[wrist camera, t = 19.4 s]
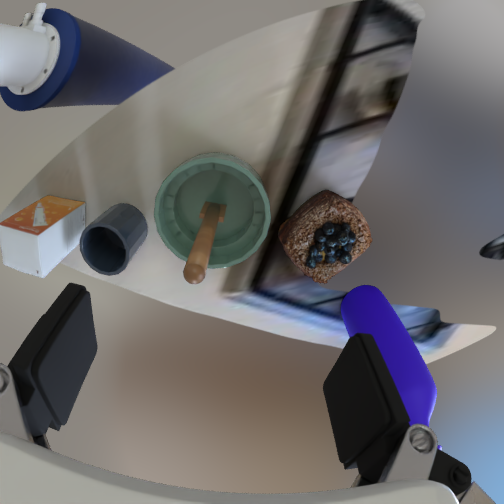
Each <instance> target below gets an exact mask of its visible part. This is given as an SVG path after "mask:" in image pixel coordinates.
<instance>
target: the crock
mask: <svg viewBox="0 0 504 504" xmlns="http://www.w3.org/2000/svg"><path fill="white" fill-rule="evenodd" d="M146 236H147V223H146V220H145V218H144V216H143V214H142V213H141V212H140V211H139V210H138V209H137V208H135V207H134V206H132V205H129V204H124V203H120V204H116V205H114V206H112V207H110V208H109V209H108V210H107V211H105V212H104V213H103V214H102V215H100V216H99V217H98V218H97V219H96V220H94V221H93V222H92V223H91V224H90V225H88V226H87V227H86V228H85V229H84V230H83V232H82V234H81V237H80V251H81V254H82V256H83V258H84V260H85V262H86V263H87V264H88V265H89V266H90V267H91V268H92V269H93V270H95V271H96V272H98V273H100V274H104V275H108V276H110V275H116V274H119V273H120V272H122V271H123V270H124V269H125V268H126V267H127V265H128V264H129V263H130V261H131V260H132V258H133V257H134V255H135V254H136V253H137V251H138V250H139V248H140V247H141V245H142V244H143V242H144V240H145V239H146Z"/></svg>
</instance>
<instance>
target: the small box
mask: <svg viewBox="0 0 504 504" xmlns="http://www.w3.org/2000/svg"><path fill="white" fill-rule="evenodd" d="M85 205H86V203H85V202H81V201H74V200H69V199H64V198H59V197H54V196H49V195H48V196H46V197H44V198H42V199H40V200H38V201H36V202H35V203H33V204H31V205H29V206H28V207H26V208H24V209H23V210H21V211H19V212H17V213H16V214H14V215H12V216H11V217H9V218H8V219H6V220H4V221H3V222H1V223H0V245H1V252H2V258H3V264H4V265H6V266H9V267H11V268H14V269H16V270H19V271H21V272H23V273H27V274H31V275H34V276H37V277H40V278H44V277H45V276H46V275H47V274H48V273H49V272H50V271H51V270H52V269H53V268H54V267H55V266H56V265H57V264H58V263H59V262H60V261H61V260H62V259H63V258H64V257H65V256H66V255H67V254H68V253H70V252H71V251H72V250H73V249H74V248H75V247H76V246H77V245H78V244H79V243H80V237H81V234H82V232H83V230H84V229H85Z"/></svg>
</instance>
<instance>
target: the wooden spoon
mask: <svg viewBox="0 0 504 504" xmlns="http://www.w3.org/2000/svg"><path fill="white" fill-rule="evenodd" d="M226 207H227V205H223V204H218V203H212V202H207V201H205V203H204V205H203V207H202V209H201V212H200V215H199V218H201V219H203V220H202V223H201V225H200V228H199V231H198V233H197V236H196V238H195V241H194V244H193V246H192V249H191V252H190V254H189V257H188V260H187V262H186V265H185V268H184V271H183V275H184V278H185V280H186V281H187V282H189V283H191V284H198V283H200V282H202V281H203V279H204V278H205V274H206V270H207V266H208V261H209V257H210V253H211V249H212V245H213V241H214V237H215V233H216V229H217V225H218V222H224V217H225V212H226Z"/></svg>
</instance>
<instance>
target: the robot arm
mask: <svg viewBox="0 0 504 504" xmlns="http://www.w3.org/2000/svg"><path fill="white" fill-rule="evenodd" d="M46 5H47V4H46V3H37V4H36V7H35V10H34V13H33V14H34V15H33V18H32V20H31V17H32V13H26V14H25V16H24V20H23V24H22V26H20V27H18V26H13V25H8V24H2V23H0V86H7V87H8V88H9V90H10V91H11V92H13V93H15V94H18V95H25V94H29V93H32V92H34V91H35V90H37V89H38V88H39V87H41V86H42V85H43V84H44V83H45V81H46V80H47V79H48V77H49V76H50V75H51V73H52V71H53V69H54V67H55V65H56V62H57V59H58V56H59V51H60V37H59V33H58V31H57V30H56V28H55V27H54V26H52V25H51V24H47V23H43V21H42V20H41V19H42V16H43V14H44V12H45V9H46ZM30 20H31V21H30ZM96 352H97V341H96V335H95V328H94V322H93V314H92V306H91V298H90V293H89V292H88V291H86V288H85V287H84V286H82V285H78V284H74V283H69V284H68V285H67V286H66V288H65V289H64V290H63V291H62V292H61V294H60V295H59V296H58V298H57V299H56V300H55V302H54V303H53V304H52V305H51V307H50V308H49V309H48V311H47V312H46V314H44V315H43V316H42V317H41V318H40V319H39V320H38V322H37V323H36V325H35V326H34V327H33V329H32V330H31V332H30V333H29V335H28V336H27V337H26V339H25V340H24V342H23V343H22V345H21V347H20V348H19V349H18V351H17V352H16V354H15V355H14V357H13V358H12V360H11V361H10V363H9V365H8V366H5V365H4V364H2V363H0V504H496V503H495V502H494V501H493V500H492V499H491V498H490V497H489V496H488V495H487V494H486V493H485V492H484V491H483V490H482V489H481V488H480V487H479V486H478V485H477V484H476V483H475V482H472V483H471V473H470V470H469V469H468V467H467V466H466V465H465V464H463V463H462V462H460V461H458V460H457V459H455V458H453V457H451V456H450V455H448V454H446V453H444V452H443V451H441V450H439V449H438V448H437V447H438V441H437V437H436V435H435V433H434V432H433V431H432V429H431V428H429V427H428V426H426V425H423V424H413V425H412V426H410V424H409V422H410V421H411V420H410V418H409V415H408V413H407V410H406V408H405V406H404V403H403V401H402V399H401V396H400V394H399V392H398V389H397V387H396V385H395V383H394V380H393V378H392V376H391V374H390V372H389V369H388V367H387V365H386V363H385V361H384V358H383V356H382V354H381V352H380V350H379V348H378V346H377V344H376V342H375V340H374V337H373V336H372V335H371V334H366V333H356V334H355V335H354V336H351V337H350V338H349V340H348V342H347V344H346V345H345V347H344V349H343V351H342V353H341V354H340V356H339V358H338V360H337V362H336V363H335V365H334V366H333V368H332V370H331V371H330V373H329V375H328V376H327V378H326V380H325V382H324V384H323V391H324V395H325V400H326V403H327V408H328V412H329V417H330V421H331V425H332V429H333V434H334V438H335V442H336V447H337V452H338V456H339V460H340V462H341V463H343V464H344V469H352V468H358V471H359V474H358V476H357V477H356V479H355V481H354V482H353V484H352V486H351V487H350V488H346V489H338V490H330V491H320V492H308V493H289V494H247V493H246V494H245V493H228V492H215V491H206V490H198V489H190V488H183V487H177V486H170V485H166V484H160V483H155V482H150V481H146V480H141V479H137V478H133V477H129V476H125V475H122V474H118V473H115V472H111V471H108V470H105V469H101V468H98V467H95V466H92V465H89V464H86V463H83V462H80V461H77V460H75V459H72V458H69V457H67V456H64V455H61V454H59V453H56V452H54V451H52V450H51V448H50V445H49V443H48V440H47V437H46V432H47V430H48V427H50V428H52V429H55V430H57V431H59V430H60V427H61V425H65V424H66V423H67V420H68V418H69V415H70V413H71V410H72V408H73V405H74V403H75V401H76V398H77V396H78V393H79V391H80V389H81V386H82V384H83V382H84V379H85V377H86V375H87V373H88V371H89V368H90V366H91V364H92V362H93V360H94V357H95V355H96Z"/></svg>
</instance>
